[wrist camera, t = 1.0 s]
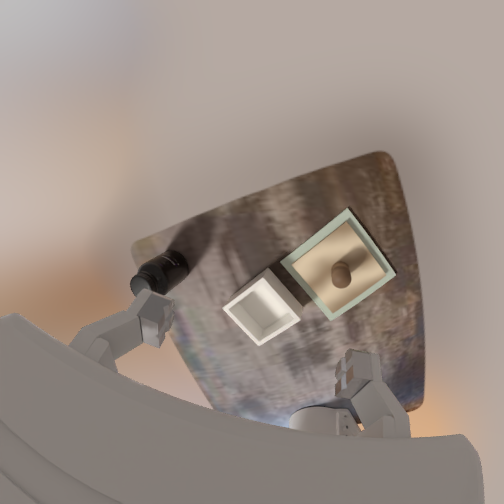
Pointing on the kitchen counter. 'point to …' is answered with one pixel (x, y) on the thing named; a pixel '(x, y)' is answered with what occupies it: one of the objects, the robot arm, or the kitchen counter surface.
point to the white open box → (264, 307)
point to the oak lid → (339, 268)
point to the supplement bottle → (160, 273)
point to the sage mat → (319, 236)
